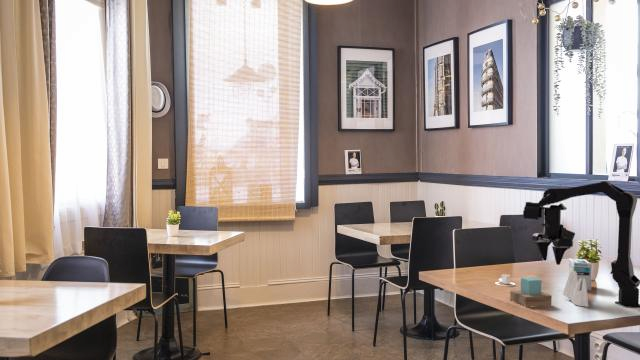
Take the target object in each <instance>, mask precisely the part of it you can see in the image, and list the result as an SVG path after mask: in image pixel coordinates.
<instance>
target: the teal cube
mask: <svg viewBox="0 0 640 360" xmlns="http://www.w3.org/2000/svg"><path fill="white" fill-rule="evenodd" d="M520 290H521V292H522V293H525V294H528V295H536V294H541V292H542V280H541V279H539V278H537V277H520Z"/></svg>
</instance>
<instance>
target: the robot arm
mask: <svg viewBox="0 0 640 360" xmlns="http://www.w3.org/2000/svg"><path fill="white" fill-rule="evenodd" d="M598 193H602V194H604V195H605V196H606V197H608V198H610V199H611V200H613V201H614V202H615V207H616V213H617V215H618V232H617V233H618V237H617V239H618V240H617V257H616V259H615V260H613V261H612V262H610V266H611V270H610V275H611V276H612V280H613V281H615V282H616V283H617V287H618V288H619V289H618V298H617V299H618V301H614V303H615V304H617V305H619V306H622V307H626V308H634V307H635V308H637V307H639V308H640V289H639V288H638V287H639V286H640V279H639V278H638V277H637V276H636V275H635V272H634V265H633V261H632V257H631V256H632V255H631V254H632V253H631V251H632V228H633V216H634V213H635V212H636V209H637V203H638V197H637V196H636V194H635V193H634V192H631V191H625V190H624V189H622V188H620V187H618V186H617V185H615V184H613V183H611V182H610V181H608V180H604V181H603V180H602V181H600V182H595V183H590V184H584V185H578V186H573V187H551V188H547V189H546V190H544V192H543V194H542V197H541V199H540V200H539V201H538V202H531V201H526V202H525V206H524V208H523V210H522V212H523V213H522V215H523V219H524V220H528V221H542V219H543V218H544V220H543V223H541V226H542V227H543V232H534V233H533V234H532V235H531V236H532V238H531V240H532V241H533V242H534V244H535V246H536V248H537V249H538V252H539V254H540V257H541V258H542V260H543V261H547V260H548V259H547V258H548V251H549V246H550V245H551V244H552V246H551V248H552V252H553V256H554V260H555V264H556V265H557V266H559V265H560V264H561V262H562V259H563V257H564V254H565V252H566V251H567V250H570V249H571V248H572V247H574V238H575V235H576V233H575V232H573V231H571V230H568V229H567V228H566V227H564V224H562V223H561V221H562V219H561V218H562V217H561V215H562V214H561V213H562V211H566V210H567V207H566V206H565V205H564V204H563V203H561V202H563V201H567V200H568V199H571V198H576V197H581V196H587V195H593V194H598ZM557 203H559V204H557Z"/></svg>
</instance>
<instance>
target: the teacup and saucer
mask: <svg viewBox="0 0 640 360" xmlns="http://www.w3.org/2000/svg"><path fill="white" fill-rule="evenodd" d="M510 278H511V276H510V274H506V273H504V274H501V277H500V278H498V281H496V282H494V284H495V285H498V286H501V287H502V286H503V287H504V286H505V287H512V286H516V283H514V282H510ZM500 283H501V284H500Z"/></svg>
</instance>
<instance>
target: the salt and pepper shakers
mask: <svg viewBox="0 0 640 360" xmlns="http://www.w3.org/2000/svg"><path fill="white" fill-rule="evenodd" d="M562 295H563V296H564V297H565V298H567V299H569V300H571V302H572V303H573V304H574V305H576V306H579V307H580V306H582V307H585V308H586V307H589V297H588V290H587V287H586V280H585V279H584V278H583V282H582V278H580V279H579V281H578V280H577V273H576V271H574V274H573V271H571V272H570V274H569V273H568V277H567V279H566V282H565V285H564V288H563V292H562Z"/></svg>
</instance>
